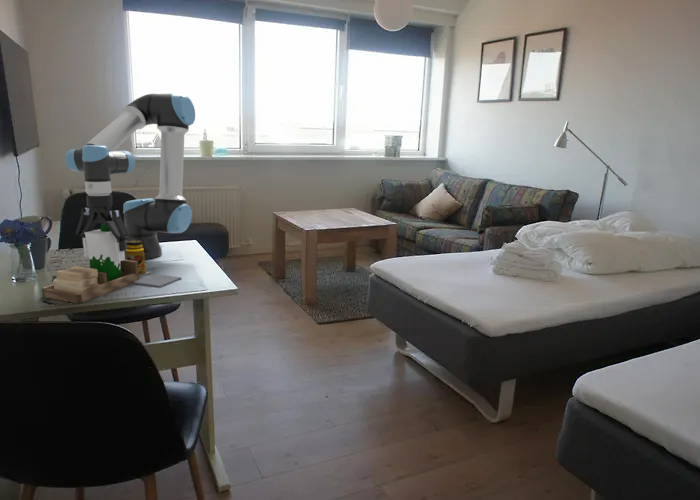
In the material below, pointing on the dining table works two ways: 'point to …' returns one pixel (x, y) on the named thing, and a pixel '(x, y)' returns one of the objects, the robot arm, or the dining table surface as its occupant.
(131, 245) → the condiment
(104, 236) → the soya milk
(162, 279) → the mat
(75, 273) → the offcut stack
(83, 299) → the tray
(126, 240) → the robot arm
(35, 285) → the dining table surface
